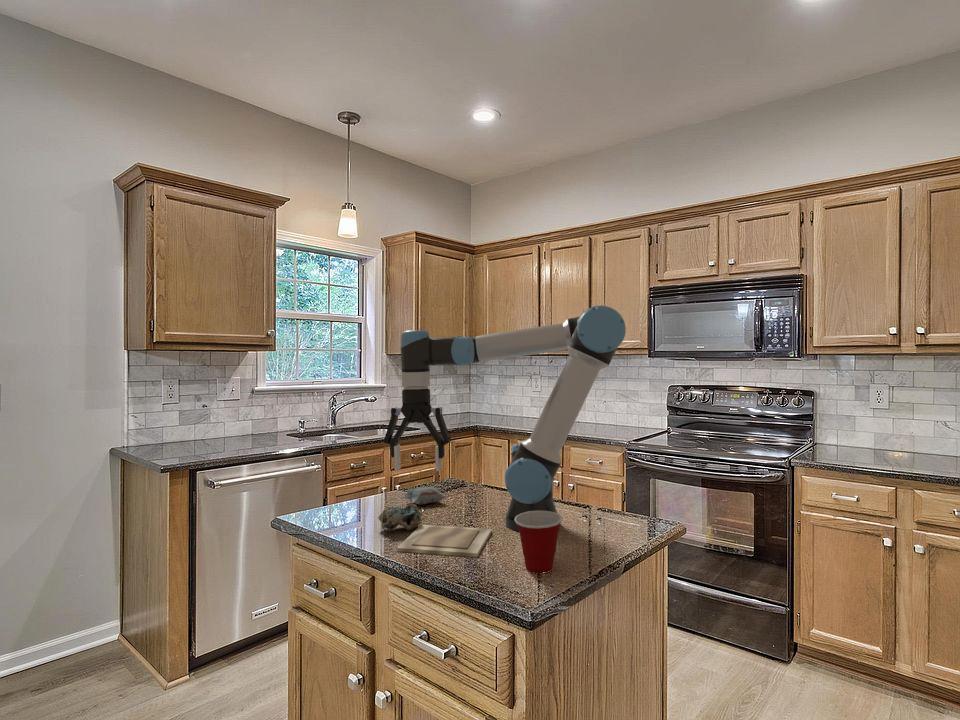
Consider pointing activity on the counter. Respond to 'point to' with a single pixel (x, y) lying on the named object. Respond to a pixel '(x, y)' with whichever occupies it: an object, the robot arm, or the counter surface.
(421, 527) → the base plate
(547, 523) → the plastic cup
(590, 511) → the counter surface
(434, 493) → the packaged food
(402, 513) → the mineral specimen
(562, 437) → the robot arm
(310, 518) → the counter surface
